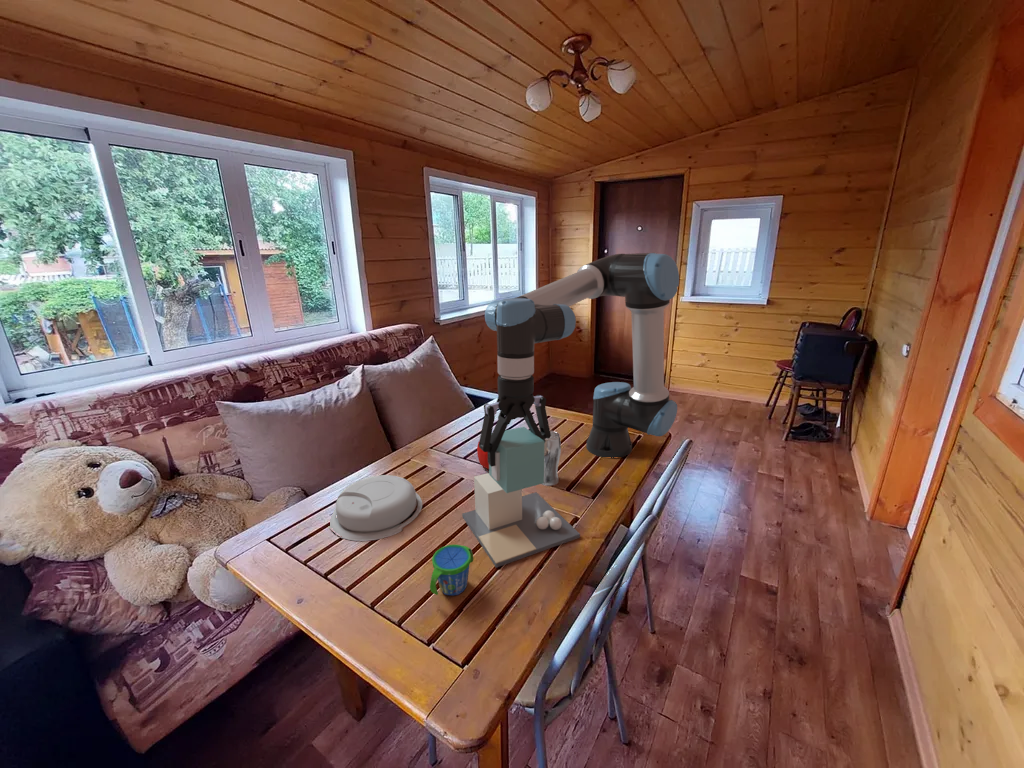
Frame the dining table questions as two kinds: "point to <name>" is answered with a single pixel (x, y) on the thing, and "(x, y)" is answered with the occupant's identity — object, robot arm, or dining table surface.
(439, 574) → the snack cup
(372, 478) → the round ceiling alarm
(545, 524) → the marble
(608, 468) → the dining table surface
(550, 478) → the beer glass
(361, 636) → the dining table surface
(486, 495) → the ivory cuboid
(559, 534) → the board
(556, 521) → the marble
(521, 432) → the seafoam cube
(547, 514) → the marble
